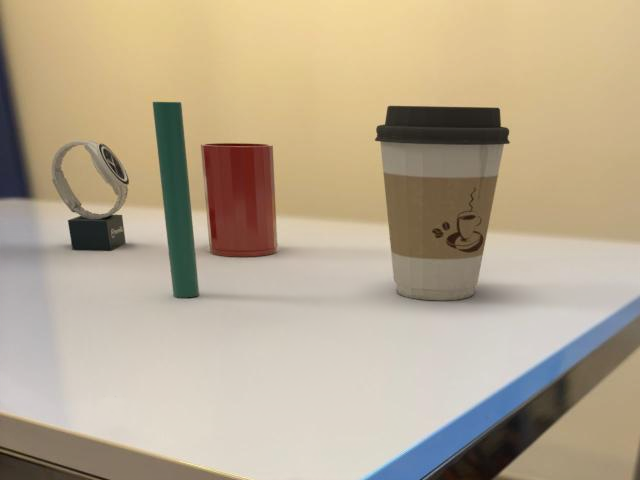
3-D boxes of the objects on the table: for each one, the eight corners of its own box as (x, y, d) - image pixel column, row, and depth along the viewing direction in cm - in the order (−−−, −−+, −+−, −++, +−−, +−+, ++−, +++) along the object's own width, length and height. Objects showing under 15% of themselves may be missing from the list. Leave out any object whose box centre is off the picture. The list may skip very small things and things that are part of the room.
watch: (127, 250, 88) (113, 143, 83) (56, 249, 88) (38, 141, 83) (142, 242, 93) (129, 140, 88) (75, 241, 93) (58, 139, 88)
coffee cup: (421, 311, 64) (429, 106, 57) (349, 286, 72) (348, 104, 65) (524, 297, 70) (542, 108, 63) (446, 275, 78) (455, 106, 71)
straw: (168, 294, 68) (147, 101, 61) (190, 291, 70) (172, 102, 63) (181, 299, 67) (161, 101, 60) (204, 295, 68) (186, 102, 61)
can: (197, 250, 89) (187, 143, 84) (252, 243, 94) (246, 142, 89) (234, 259, 84) (226, 147, 79) (290, 252, 89) (286, 145, 84)
